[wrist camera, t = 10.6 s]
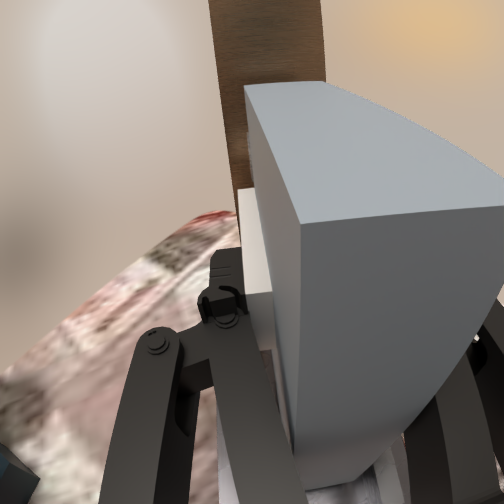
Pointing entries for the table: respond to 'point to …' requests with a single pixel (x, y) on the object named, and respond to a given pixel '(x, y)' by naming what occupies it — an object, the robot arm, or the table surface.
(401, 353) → the door panel
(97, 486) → the table surface
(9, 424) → the table surface
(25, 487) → the watch
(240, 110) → the base
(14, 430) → the table surface
